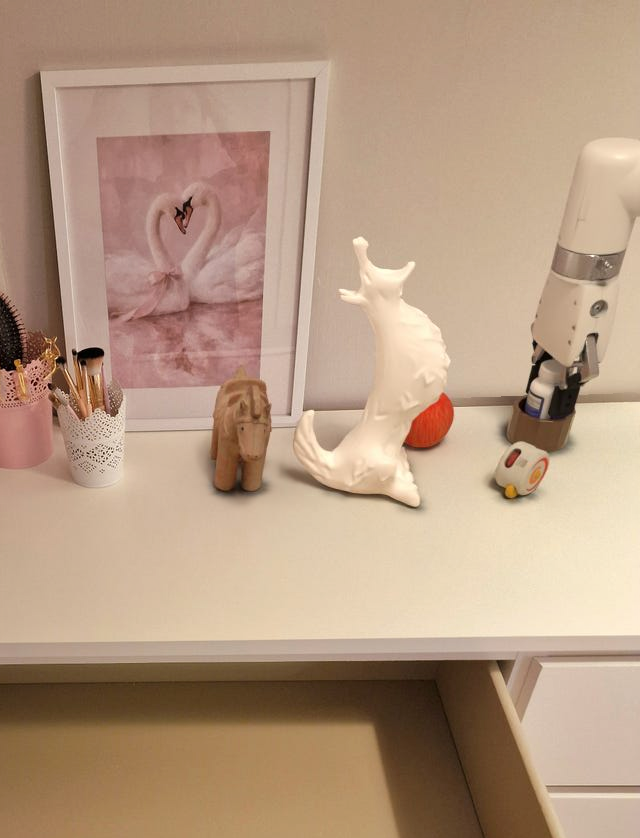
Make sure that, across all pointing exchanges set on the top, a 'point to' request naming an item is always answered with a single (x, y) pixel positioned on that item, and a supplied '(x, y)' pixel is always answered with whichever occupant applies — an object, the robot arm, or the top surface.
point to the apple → (431, 424)
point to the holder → (538, 428)
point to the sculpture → (382, 391)
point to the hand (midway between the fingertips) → (548, 402)
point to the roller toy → (521, 469)
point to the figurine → (240, 431)
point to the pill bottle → (544, 390)
